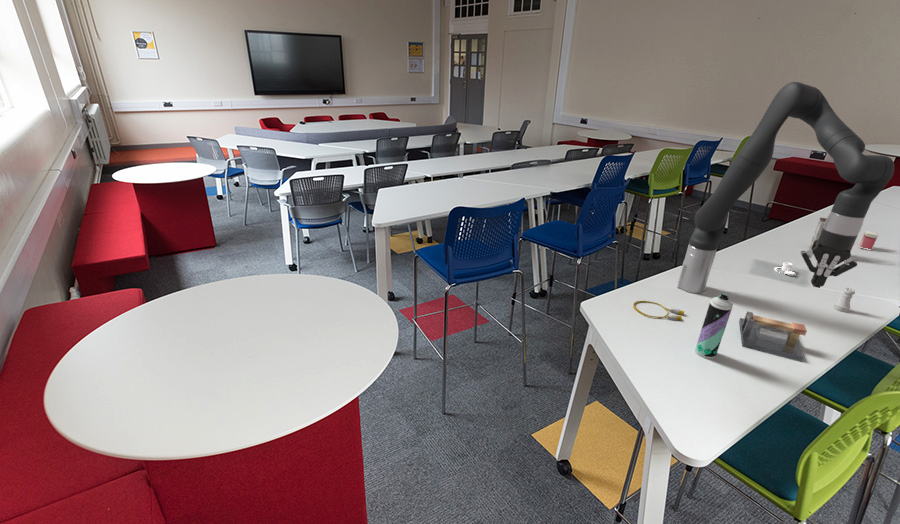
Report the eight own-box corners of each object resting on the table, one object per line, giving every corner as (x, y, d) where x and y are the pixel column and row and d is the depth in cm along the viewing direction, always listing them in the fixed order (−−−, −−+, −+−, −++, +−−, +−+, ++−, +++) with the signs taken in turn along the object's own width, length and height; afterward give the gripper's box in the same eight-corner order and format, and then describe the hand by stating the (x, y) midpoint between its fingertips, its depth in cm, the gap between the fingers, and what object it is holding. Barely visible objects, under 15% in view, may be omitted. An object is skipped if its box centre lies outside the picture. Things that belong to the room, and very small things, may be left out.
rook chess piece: (845, 307, 159) (855, 287, 156) (851, 313, 155) (861, 293, 152) (831, 305, 160) (839, 285, 157) (836, 311, 156) (845, 291, 153)
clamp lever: (746, 322, 138) (748, 317, 137) (745, 316, 141) (747, 311, 140) (804, 336, 132) (806, 331, 131) (802, 330, 135) (804, 324, 134)
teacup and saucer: (796, 279, 180) (799, 270, 179) (772, 273, 185) (776, 264, 183) (796, 271, 187) (800, 263, 185) (774, 266, 191) (777, 257, 189)
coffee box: (831, 254, 205) (845, 220, 198) (833, 258, 200) (847, 224, 193) (807, 249, 209) (820, 216, 203) (808, 253, 204) (821, 220, 198)
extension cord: (670, 329, 143) (672, 324, 143) (626, 309, 154) (627, 304, 154) (687, 317, 151) (689, 312, 150) (644, 298, 162) (645, 294, 161)
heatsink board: (742, 346, 135) (748, 327, 132) (738, 321, 148) (745, 304, 145) (801, 361, 129) (810, 342, 126) (793, 334, 142) (800, 316, 139)
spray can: (691, 348, 133) (709, 289, 125) (708, 347, 134) (727, 289, 125) (701, 359, 128) (721, 299, 120) (719, 358, 129) (740, 298, 120)
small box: (858, 245, 216) (865, 230, 213) (870, 247, 214) (877, 232, 210) (859, 248, 212) (866, 233, 209) (871, 250, 210) (878, 235, 207)
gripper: (813, 229, 120) (790, 285, 127) (876, 239, 114) (848, 297, 121) (808, 221, 126) (786, 275, 133) (867, 230, 120) (841, 286, 127)
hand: (816, 286), depth 127 cm, fingers closed
